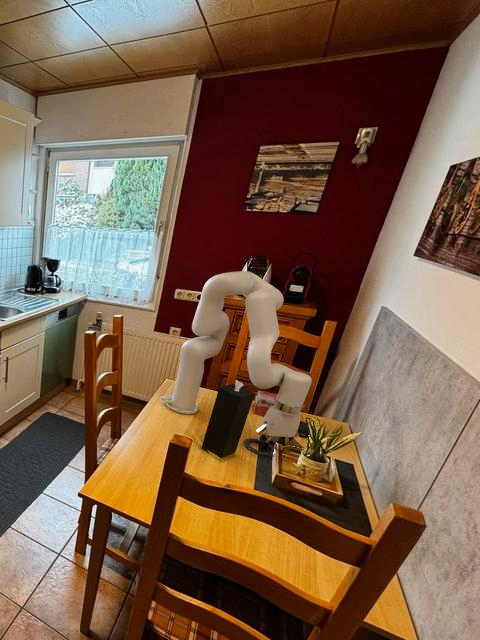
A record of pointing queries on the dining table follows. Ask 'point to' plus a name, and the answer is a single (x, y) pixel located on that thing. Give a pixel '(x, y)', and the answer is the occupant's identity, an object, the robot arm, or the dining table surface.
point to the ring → (248, 447)
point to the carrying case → (303, 429)
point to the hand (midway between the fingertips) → (271, 450)
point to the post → (291, 443)
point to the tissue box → (227, 419)
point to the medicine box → (264, 402)
